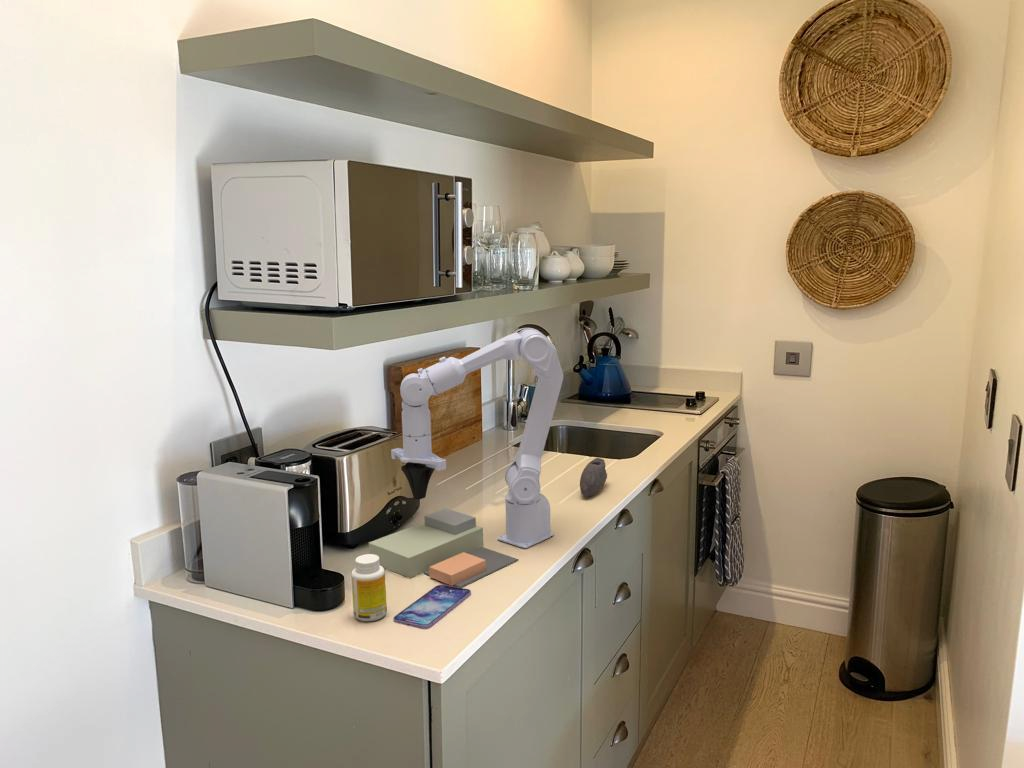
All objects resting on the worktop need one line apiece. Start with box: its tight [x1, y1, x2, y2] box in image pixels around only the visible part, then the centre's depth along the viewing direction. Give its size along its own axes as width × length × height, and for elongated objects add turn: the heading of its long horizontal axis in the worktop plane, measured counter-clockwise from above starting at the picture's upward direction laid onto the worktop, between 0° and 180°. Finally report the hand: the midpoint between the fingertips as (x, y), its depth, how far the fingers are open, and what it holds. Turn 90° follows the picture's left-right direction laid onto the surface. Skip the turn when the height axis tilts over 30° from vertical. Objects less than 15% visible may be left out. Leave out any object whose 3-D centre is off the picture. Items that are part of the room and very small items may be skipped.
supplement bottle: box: [350, 553, 388, 622], centre depth 134 cm, size 6×6×10 cm
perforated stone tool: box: [579, 457, 608, 498], centre depth 196 cm, size 15×5×7 cm, turn 157°
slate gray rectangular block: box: [423, 507, 477, 535], centre depth 164 cm, size 9×6×2 cm, turn 48°
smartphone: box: [393, 584, 472, 630], centre depth 138 cm, size 7×1×15 cm
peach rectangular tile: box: [429, 552, 486, 586], centre depth 150 cm, size 9×6×2 cm, turn 138°
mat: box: [423, 546, 519, 588], centre depth 154 cm, size 16×10×1 cm, turn 138°
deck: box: [368, 521, 484, 579], centre depth 160 cm, size 20×12×4 cm, turn 138°
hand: (419, 498), depth 163 cm, fingers closed
